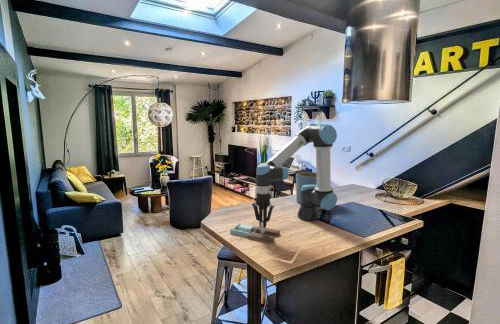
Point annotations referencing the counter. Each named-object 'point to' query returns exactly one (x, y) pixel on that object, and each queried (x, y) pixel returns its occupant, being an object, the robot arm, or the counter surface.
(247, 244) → the counter surface
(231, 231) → the tray
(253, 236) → the slot board
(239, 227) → the grey cube-shaped block
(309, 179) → the planter
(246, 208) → the counter surface
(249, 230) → the grey wood-grain cube
